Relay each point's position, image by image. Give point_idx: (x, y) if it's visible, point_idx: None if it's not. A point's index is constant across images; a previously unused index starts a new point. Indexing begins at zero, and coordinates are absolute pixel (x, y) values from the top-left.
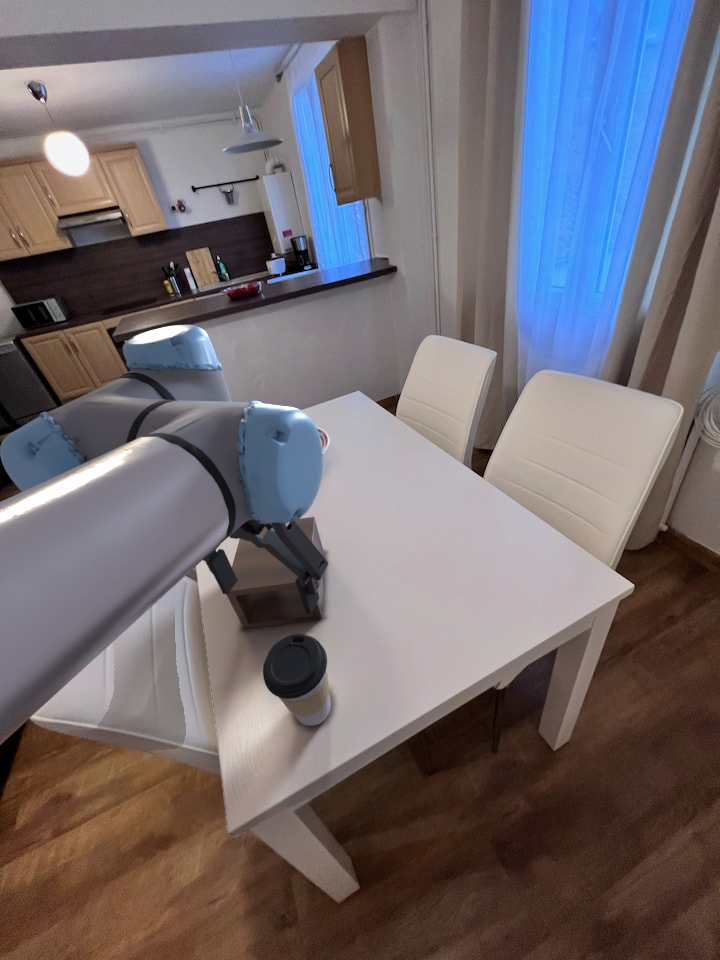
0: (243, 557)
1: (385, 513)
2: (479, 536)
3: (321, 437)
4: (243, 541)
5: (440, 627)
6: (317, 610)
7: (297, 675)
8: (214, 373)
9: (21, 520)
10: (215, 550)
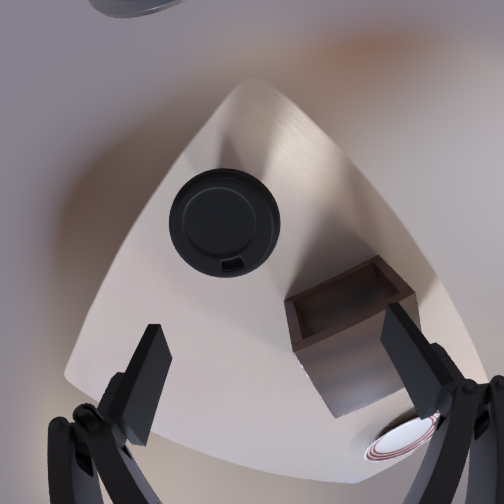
0: None
1: (271, 421)
2: (166, 412)
3: (374, 456)
4: None
5: None
6: (287, 309)
7: (194, 208)
8: None
9: None
10: (440, 413)
